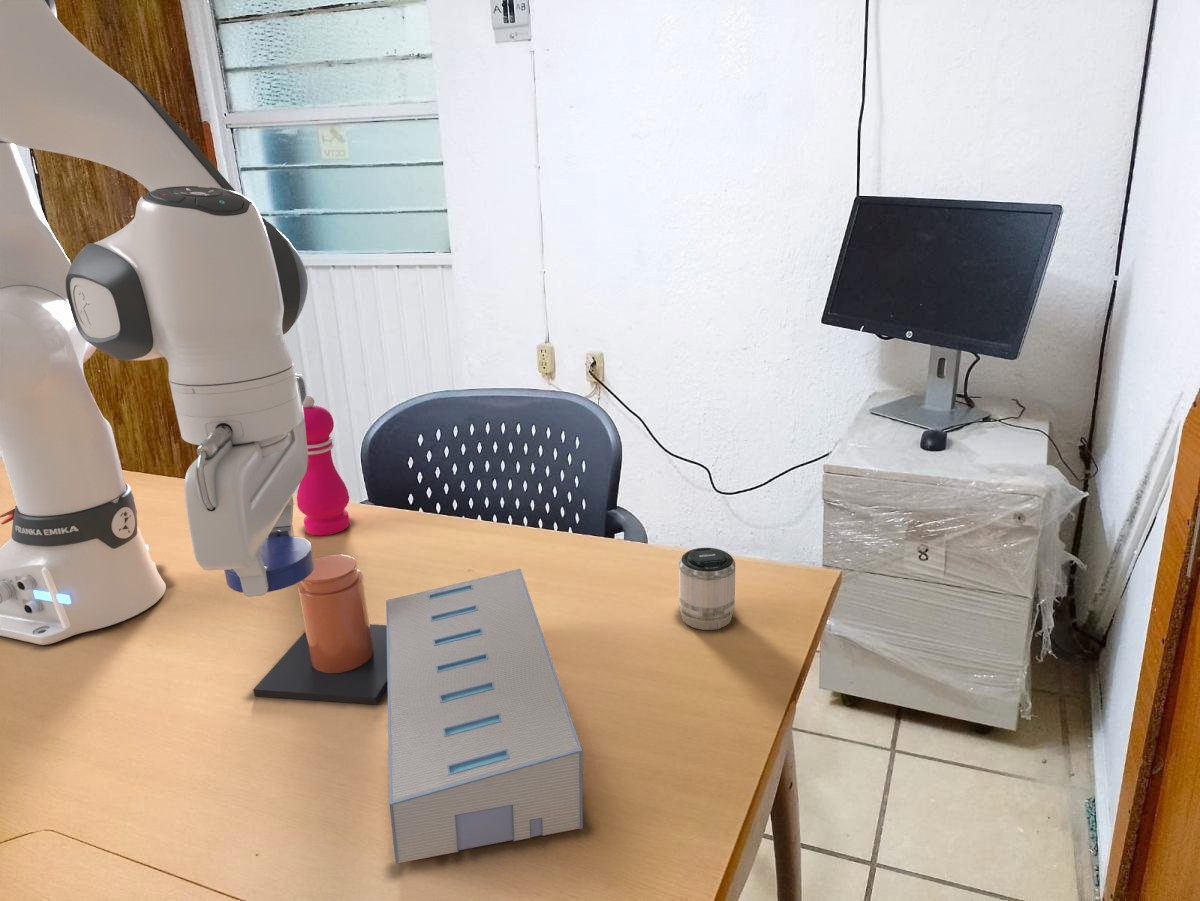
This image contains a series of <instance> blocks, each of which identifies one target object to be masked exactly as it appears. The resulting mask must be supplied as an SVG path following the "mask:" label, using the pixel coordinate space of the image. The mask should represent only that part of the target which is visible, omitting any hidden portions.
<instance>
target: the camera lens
mask: <svg viewBox="0 0 1200 901" xmlns="http://www.w3.org/2000/svg"><path fill="white" fill-rule="evenodd" d="M735 595H736V560H735V559H734V558H733V556H732V555H731V554H729V553H728V552H727V551H725V550H722V549H719V548H716V547H697V548H693V549H690V550H688V551H686V552H685V553H683V554H682V555H681V557H680V558H679V559H678V604H679V612H680V614H681V619H682V621H683V622H684V623H685V624H686V625H687V626H689V627H692V628H694V629H698V630H704V631H712V630H720V629H723V628H724V627H726V626H728V625H729V624H730V623H731V621H732V618H733V616H732V615H734V610H735V603H736V600H735Z"/></svg>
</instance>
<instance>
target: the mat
mask: <svg viewBox="0 0 1200 901" xmlns="http://www.w3.org/2000/svg"><path fill="white" fill-rule="evenodd" d="M370 629H371V636H372V643H373V654H372V656H371V658H370V659H369V660H368V661H367V662H366V663H364V664H363V665H361V666H360V667H358V668H355V669H353V670H350V671H346V672H341V673H324V672H320V671H318V670H316V669H315V668H314V667H313V666H312V664H311V659H310V653H309V647H308V642H307V636H306V631H304V632H303V633H302V635H301V636H300V637H298V639H297V640H296V641H295V642H294V643H293V644H292V645H291V646H290V648H289V649H288V650H287V651H286V652H285V654H283V655H282V657H281V658H280V659H279V660H278V661H277V662H276V663H275V664H274V666H273V667H272V668H270V670H269V671H268V672H267V673H266V675H265V676H264V677H263V678H262V679H261V680H260V681H259V683H257V684H256V686H255V687H254V688H253V689H252V692H253V695H254V697H263V698H278V699H290V700H291V699H292V700H306V701H319V702H320V701H321V702H335V703H347V704H363V705H378V703H379V701H380V700H381V699H382V697H383V695H384V694H385V692H386V691H387V690H388V682H387V624H372V623H370Z"/></svg>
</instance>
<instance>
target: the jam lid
mask: <svg viewBox="0 0 1200 901" xmlns="http://www.w3.org/2000/svg"><path fill="white" fill-rule="evenodd" d="M261 559H262V561H263V564H264V567H265V566H268V567H269V572H270V578H271V584H270V586H269V588H268V591H267V593H271V592H276V591H279V590H280V591H281V590H283V589H286V588H288V587H291V586H294V585H297V584H299V583H300V581H302V580H303V579H305V578H306V577H308V576H309V575H310V574H311V573H312V571H313V570H314V567H315V563H314V559H315V557H314V552H313V547H312V544H311V542H310V541H309V540H308V539H306V538H305V537H302V536H301V537H300V536H298V535H297V536H295V535H294V536H275V537H267V539H266V541H265V542H264V544H263V546H262V555H261ZM223 571H224V576H225V580H226V584H227V586H228V588H230V589H231V590H232V591H235V592H238V593H243V590H242V585H241V581H240V577H239V576H238V575H237V574H236V572H235V571H234V570H233V569H227V570H223ZM243 594H244V593H243Z"/></svg>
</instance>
